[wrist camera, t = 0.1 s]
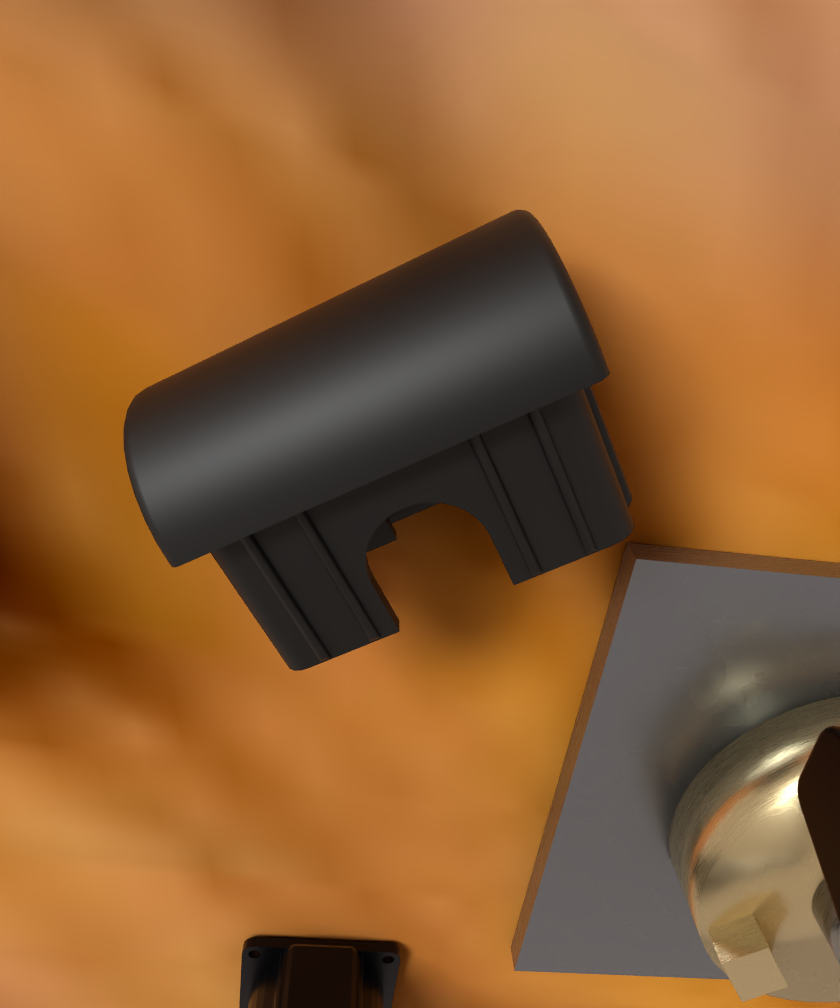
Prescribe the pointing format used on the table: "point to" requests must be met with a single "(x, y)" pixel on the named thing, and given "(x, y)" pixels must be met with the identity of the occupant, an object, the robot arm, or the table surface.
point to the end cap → (386, 437)
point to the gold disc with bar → (760, 863)
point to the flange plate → (666, 746)
